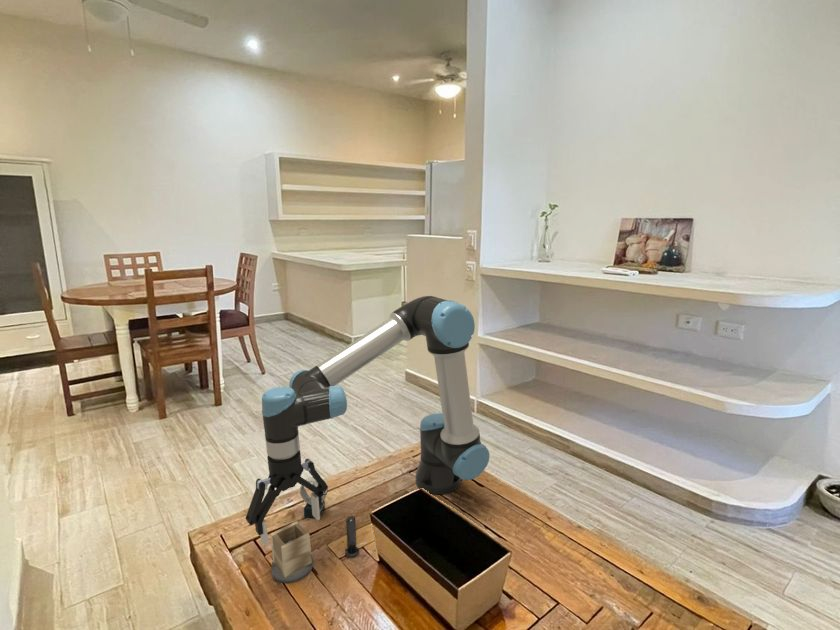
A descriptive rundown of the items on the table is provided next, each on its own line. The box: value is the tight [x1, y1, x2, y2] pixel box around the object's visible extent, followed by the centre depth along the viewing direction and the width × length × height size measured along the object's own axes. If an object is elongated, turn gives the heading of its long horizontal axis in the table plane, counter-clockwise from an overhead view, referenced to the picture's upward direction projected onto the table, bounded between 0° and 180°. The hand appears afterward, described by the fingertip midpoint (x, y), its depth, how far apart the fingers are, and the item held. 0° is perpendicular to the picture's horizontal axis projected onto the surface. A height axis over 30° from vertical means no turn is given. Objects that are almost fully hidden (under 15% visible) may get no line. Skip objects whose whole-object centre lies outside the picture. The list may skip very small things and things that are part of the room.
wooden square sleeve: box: [270, 521, 312, 578], centre depth 110 cm, size 7×7×8 cm
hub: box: [270, 538, 314, 584], centre depth 110 cm, size 10×10×8 cm
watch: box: [299, 476, 329, 520], centre depth 131 cm, size 6×8×11 cm
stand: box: [344, 515, 360, 559], centre depth 115 cm, size 4×4×10 cm
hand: (291, 530), depth 109 cm, fingers open, 13 cm apart
